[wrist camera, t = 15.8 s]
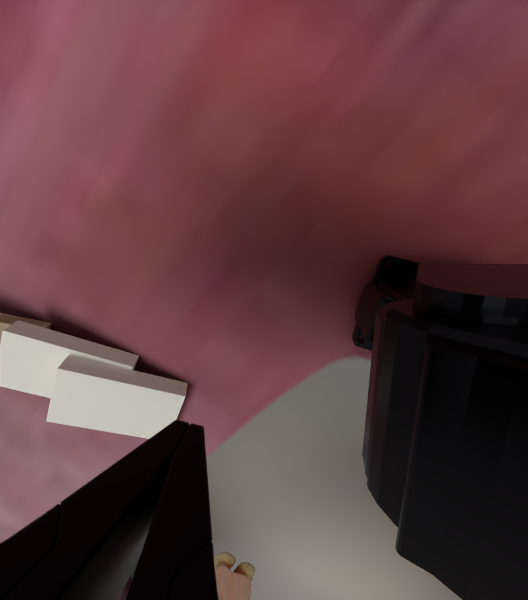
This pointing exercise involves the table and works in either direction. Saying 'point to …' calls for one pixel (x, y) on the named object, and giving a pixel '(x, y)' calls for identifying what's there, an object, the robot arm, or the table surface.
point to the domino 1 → (5, 320)
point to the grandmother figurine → (233, 578)
